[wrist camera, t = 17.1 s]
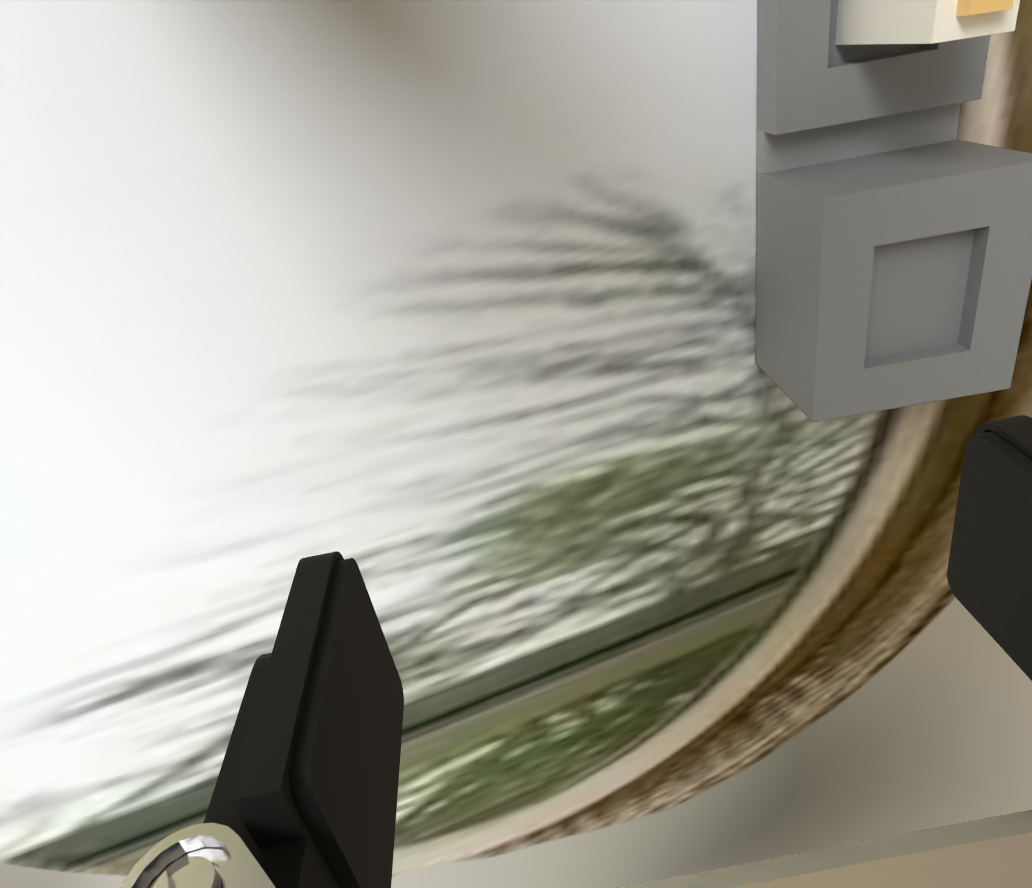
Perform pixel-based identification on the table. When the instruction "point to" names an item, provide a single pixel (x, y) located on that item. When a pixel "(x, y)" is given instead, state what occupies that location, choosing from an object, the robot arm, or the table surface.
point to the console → (881, 221)
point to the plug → (921, 20)
